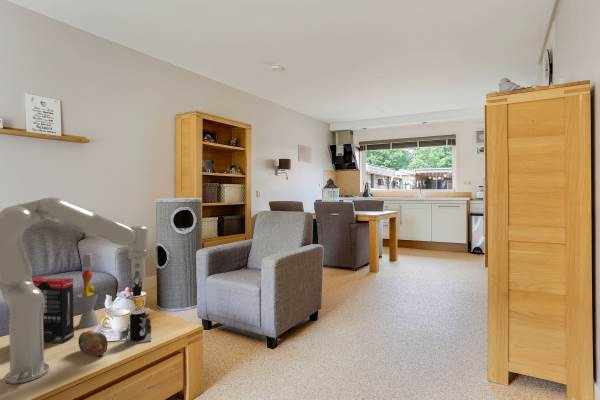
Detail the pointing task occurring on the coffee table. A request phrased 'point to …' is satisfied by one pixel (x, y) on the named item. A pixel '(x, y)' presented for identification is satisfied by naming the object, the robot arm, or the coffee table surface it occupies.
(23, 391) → the coffee table surface
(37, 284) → the graphics card box
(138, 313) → the beverage can
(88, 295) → the lava lamp
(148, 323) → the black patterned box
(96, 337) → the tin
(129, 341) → the grey mat
